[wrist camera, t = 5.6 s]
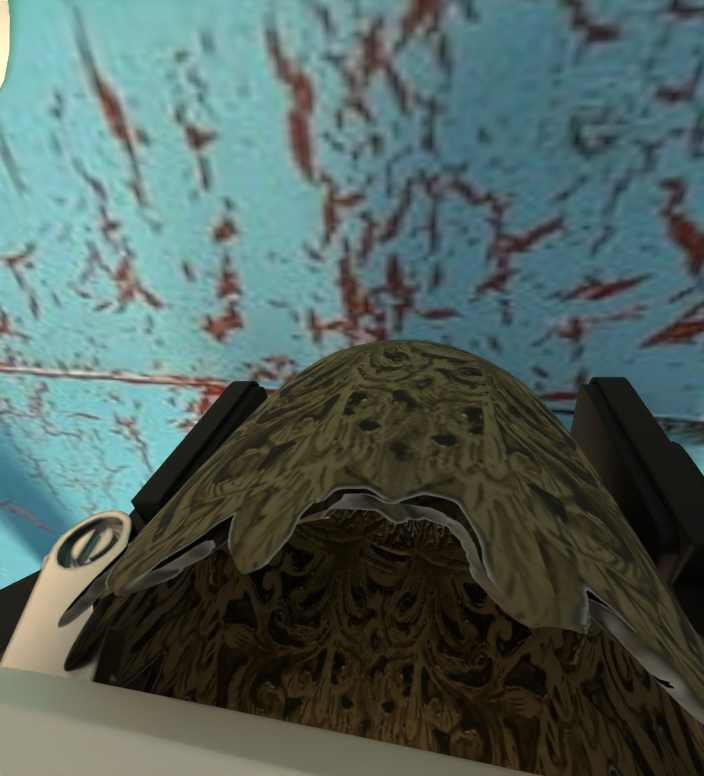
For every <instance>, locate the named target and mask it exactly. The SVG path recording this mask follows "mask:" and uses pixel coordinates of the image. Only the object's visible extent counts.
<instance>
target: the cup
mask: <svg viewBox="0 0 704 776" xmlns="http://www.w3.org/2000/svg"><path fill="white" fill-rule="evenodd" d="M92 605H93V612H92V614H91V615H90V617H89V618H88V620H87V621H86V623H85V624H84V626H83V628H82V629H81V631H80V633H79V634H78V636H77V638H76V640H75V641H74V643H73V645H72V647H71V649H70V651H69V653H68V655H67V658H66V660H65V663H64V670H66V669H68V668H70V667H71V666H72V665H73V664H74V663H76V662H77V661H78V660H79V658H80V657H81V656H82V655H83V654H84V653H85V652H86V651H87V650H88V649H89V647H90V646H91V645H92V644H93V643H94V642H95V640H96V639H97V638H98V637H99V636H100V635H101V633H102V632H103V631H104V630H105V628H107V630H116V629H120V630H127V633H126V637H125V642H124V647H123V652H122V657H121V661H120V666H119V671H118V676H117V681H116V682H113V683H112V684H113V685H114V686H116V687H120V688H123V687H124V686H125V685H127V684H128V683H130V682H131V681H133V680H134V679H135V678H136V677H138V676H139V675H140V674H141V673H142V672H143V671H144V670H145V669H146V668H147V667H148V666H150V665H151V664H152V666H151V670H150V672H149V675H148V677H147V680H146V682H145V684H144V686H143V688H142V690H141V692H145V693H150V694H155V695H160V696H165V697H166V696H167V695H168V693H169V691H170V690H171V688H172V687H174V690H175V693H176V697H177V699H179V700H184V701H189V702H194V703H199V704H204V705H209V706H214V707H219V708H224V709H228V710H233V711H238V712H243V713H248V714H252V715H257V716H262V717H267V718H272V719H276V720H281V721H286V722H291V723H296V724H300V725H305V726H310V727H315V728H320V729H324V730H329V731H334V732H339V733H343V734H348V735H353V736H358V737H362V738H367V739H372V740H377V741H381V742H386V743H391V744H396V745H401V746H405V747H410V748H415V749H420V750H424V751H429V752H434V753H439V754H443V755H448V756H453V757H457V758H462V759H467V760H471V761H476V762H480V763H485V764H490V765H494V766H499V767H504V768H508V769H513V770H518V771H522V772H527V773H532V774H536V775H541V776H704V645H703V643H702V641H701V640H700V638H699V636H698V635H697V633H696V632H695V630H694V628H693V627H692V625H691V623H690V622H689V620H688V618H687V617H686V615H685V613H684V612H683V610H682V609H681V607H680V605H679V604H678V602H677V600H676V599H675V597H674V595H673V594H672V592H671V591H670V589H669V587H668V586H667V584H666V582H665V581H664V579H663V578H662V576H661V574H660V573H659V571H658V569H657V568H656V566H655V565H654V563H653V561H652V560H651V558H650V556H649V555H648V553H647V552H646V550H645V548H644V547H643V545H642V544H641V542H640V540H639V539H638V537H637V535H636V534H635V532H634V531H633V529H632V527H631V526H630V524H629V523H628V521H627V519H626V518H625V516H624V515H623V513H622V512H621V510H620V508H619V507H618V505H617V504H616V502H615V500H614V499H613V497H612V496H611V494H610V493H609V491H608V489H607V488H606V486H605V485H604V483H603V482H602V480H601V478H600V477H599V475H598V474H597V472H596V471H595V469H594V468H593V466H592V464H591V463H590V461H589V460H588V459H587V457H586V456H585V454H584V453H583V451H582V450H581V448H580V447H579V446H578V444H577V443H576V441H575V440H574V439H573V437H572V436H571V435H570V434H569V432H568V431H567V430H566V428H565V427H564V426H563V425H562V423H561V422H560V421H559V420H558V419H557V417H556V416H555V415H554V414H553V412H552V411H551V410H550V409H549V407H548V406H547V405H545V404H544V403H543V402H542V401H541V400H540V399H539V398H538V397H537V396H536V395H535V394H534V393H533V392H532V391H531V390H530V389H529V388H528V387H527V386H526V385H524V384H523V383H522V382H521V381H520V380H518V379H517V378H515V377H514V376H513V375H511V374H510V373H509V372H507V371H506V370H504V369H502V368H500V367H499V366H497V365H495V364H493V363H491V362H490V361H488V360H486V359H484V358H481V357H479V356H477V355H475V354H472V353H470V352H468V351H465V350H462V349H459V348H456V347H452V346H449V345H445V344H440V343H435V342H429V341H420V340H386V341H377V342H372V343H367V344H362V345H358V346H354V347H351V348H348V349H345V350H342V351H339V352H336V353H334V354H331V355H329V356H327V357H325V358H323V359H321V360H319V361H317V362H316V363H314V364H312V365H311V366H309V367H308V368H306V369H305V370H303V371H301V372H300V373H298V374H297V375H295V376H294V377H293V378H291V379H290V380H289V381H288V382H287V383H285V384H284V385H283V386H282V387H280V388H279V389H278V390H277V391H276V392H275V393H273V394H272V395H271V396H270V397H269V398H267V399H266V400H265V401H264V402H263V403H262V404H261V405H260V406H259V407H258V408H257V409H256V410H255V411H254V412H253V413H252V414H251V415H250V416H249V417H248V418H247V419H246V420H245V421H244V422H243V423H242V424H241V425H240V426H239V427H238V428H237V429H236V430H235V432H234V433H233V434H232V435H231V436H230V437H229V438H228V439H227V440H226V441H225V442H224V443H223V444H222V445H221V446H220V447H219V448H218V449H217V450H216V451H215V453H214V454H213V455H212V456H211V457H210V458H209V459H208V460H207V461H206V462H205V463H204V464H203V465H202V466H201V467H200V468H199V470H198V471H197V472H196V473H195V474H194V475H193V476H192V477H191V478H190V479H189V480H188V481H187V482H186V483H185V485H184V486H183V487H182V488H181V489H180V490H179V491H178V492H177V493H176V494H175V495H174V496H173V497H172V498H171V500H170V501H169V502H168V503H167V504H166V505H165V506H164V507H163V508H162V509H161V510H160V511H159V512H158V514H157V515H156V516H155V517H154V518H153V519H152V520H151V521H150V522H149V523H148V524H147V525H146V526H145V527H144V529H143V530H142V531H141V532H140V533H139V534H138V535H137V536H136V537H135V538H134V539H133V540H132V541H131V542H130V543H129V544H128V545H127V546H126V547H125V548H124V549H123V550H122V551H121V552H120V553H119V554H118V555H117V556H116V557H115V558H114V559H113V560H112V561H111V562H110V563H109V564H108V565H107V566H106V567H105V568H104V569H103V570H102V571H101V572H100V573H99V574H98V575H97V576H96V577H95V578H94V579H93V580H92V581H91V582H90V583H89V584H88V586H87V587H86V588H85V589H84V590H83V591H82V592H81V593H80V594H79V595H78V596H77V597H76V599H75V600H74V601H73V602H72V603H71V605H70V606H69V607H68V608H67V610H66V611H65V612H64V613H63V615H62V616H61V618H60V620H59V622H58V628H61V627H64V626H66V625H68V624H69V623H71V622H73V621H74V620H75V619H77V618H78V617H79V616H80V615H82V614H83V613H84V612H85V611H86V610H87V609H88V608H89V607H90V606H92Z"/></svg>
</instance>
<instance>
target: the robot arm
mask: <svg viewBox="0 0 704 776" xmlns="http://www.w3.org/2000/svg"><path fill="white" fill-rule="evenodd" d="M9 46H10V13H9V5H8V0H0V87H1V85H2V83H3V81H4V77H5V72H6V67H7V62H8V56H9ZM267 398H268V396H267V393H266V390H265V389H264V387H260V386H259V384H258V383H257V382H255V381H235V382H232V383H231V384H230V385H229V386H228V387H227V388H226V390H225V391H224V392H223V393H222V394H221V396H220V397H219V398H218V399H217V400H216V401H215V403H214V404H213V405H212V406H211V407H210V409H209V410H208V411H207V412H206V413H205V414H204V416H203V417H202V418H201V419H200V420H199V422H198V423H197V424H196V425H195V426H194V427H193V429H192V430H191V431H190V432H189V433H188V434H187V436H186V437H185V438H184V439H183V440H182V442H181V443H180V444H179V445H178V446H177V447H176V449H175V450H174V451H173V452H172V453H171V455H170V456H169V457H168V458H167V459H166V460H165V462H164V463H163V464H162V465H161V466H160V468H159V469H158V470H157V471H156V472H155V473H154V475H153V476H152V477H151V478H150V479H149V480H148V482H147V483H146V484H145V485H144V486H143V488H142V489H141V490H140V491H139V492H138V493H137V495H136V496H135V497H134V498H133V499H132V501H131V502H132V504H133V506H134V507H135V509H134V510H133V511H132V512H131V514H130V515H128V514H126V513H124V512H122V511H115V510H111V511H105V512H100V513H98V514H95V515H92V516H90V517H88V518H86V519H84V520H82V521H81V522H79V523H77V524H76V525H74V526H73V527H72V528H71V529H69V530H68V531H67V532H65V533H64V534H63V535H62V537H61V538H60V539H59V540H58V541H57V542H56V543H55V545H54V546H53V548H52V549H51V551H50V553H49V555H48V557H47V559H46V562H45V564H44V566H43V568H42V569H41V570H39V571H37V572H35V573H33V574H31V575H29V576H27V577H25V578H23V579H21V580H19V581H17V582H15V583H13V584H11V585H9V586H7V587H5V588H3V589H1V590H0V776H541V775H536V774H532V773H527V772H522V771H518V770H513V769H508V768H504V767H499V766H494V765H490V764H485V763H480V762H476V761H471V760H467V759H462V758H457V757H453V756H448V755H443V754H439V753H434V752H429V751H424V750H420V749H415V748H410V747H405V746H401V745H396V744H391V743H386V742H381V741H377V740H372V739H367V738H362V737H358V736H353V735H348V734H343V733H339V732H334V731H329V730H324V729H320V728H315V727H310V726H305V725H300V724H296V723H291V722H286V721H281V720H276V719H272V718H267V717H262V716H257V715H252V714H248V713H243V712H238V711H233V710H228V709H224V708H219V707H214V706H209V705H204V704H199V703H194V702H189V701H184V700H179V699H177V697H176V693H175V690H174V687H172V688H171V690H170V691H169V693H168V695H167V696H166V697H165V696H160V695H155V694H150V693H145V692H141V690H142V688H143V686H144V684H145V682H146V680H147V677H148V675H149V672H150V670H151V666H152V664H151V665H150V666H148V667H147V668H146V669H145V670H144V671H143V672H142V673H141V674H140V675H139V676H138V677H136V678H135V679H134V680H133V681H131V682H130V683H128V684H127V685H125V686H124V687H123V688H120V687H116V686H114V685H113V684H112V683H113V682H116V681H117V676H118V671H119V666H120V661H121V657H122V652H123V647H124V642H125V637H126V633H127V630H120V629H116V630H107V628H105V630H104V631H103V632H102V633H101V635H100V636H99V637H98V638H97V639H96V640H95V642H94V643H93V644H92V645H91V646H90V647H89V649H88V650H87V651H86V652H85V653H84V654H83V655H82V656H81V657H80V658H79V660H78V661H77V662H76V663H74V664H73V665H72V666H71V667H70V668H68V669H66V670H64V663H65V660H66V658H67V655H68V653H69V651H70V649H71V647H72V645H73V643H74V641H75V640H76V638H77V636H78V634H79V633H80V631H81V629H82V628H83V626H84V624H85V623H86V621H87V620H88V618H89V617H90V615H91V614H92V612H93V605H92V606H90V607H89V608H88V609H87V610H86V611H85V612H84V613H83V614H82V615H80V616H79V617H78V618H77V619H75V620H74V621H73V622H71V623H69V624H68V625H66V626H64V627H61V628H58V622H59V620H60V618H61V616H62V615H63V613H64V612H65V611H66V610H67V608H68V607H69V606H70V605H71V603H72V602H73V601H74V600H75V599H76V597H77V596H78V595H79V594H80V593H81V592H82V591H83V590H84V589H85V588H86V587H87V586H88V584H89V583H90V582H91V581H92V580H93V579H94V578H95V577H96V576H97V575H98V574H99V573H100V572H101V571H102V570H103V569H104V568H105V567H106V566H107V565H108V564H109V563H110V562H111V561H112V560H113V559H114V558H115V557H116V556H117V555H118V554H119V553H120V552H121V551H122V550H123V549H124V548H125V547H126V546H127V545H128V544H129V543H130V542H131V541H132V540H133V539H134V538H135V537H136V536H137V535H138V534H139V533H140V532H141V531H142V530H143V529H144V527H145V526H146V525H147V524H148V523H149V522H150V521H151V520H152V519H153V518H154V517H155V516H156V515H157V514H158V512H159V511H160V510H161V509H162V508H163V507H164V506H165V505H166V504H167V503H168V502H169V501H170V500H171V498H172V497H173V496H174V495H175V494H176V493H177V492H178V491H179V490H180V489H181V488H182V487H183V486H184V485H185V483H186V482H187V481H188V480H189V479H190V478H191V477H192V476H193V475H194V474H195V473H196V472H197V471H198V470H199V468H200V467H201V466H202V465H203V464H204V463H205V462H206V461H207V460H208V459H209V458H210V457H211V456H212V455H213V454H214V453H215V451H216V450H217V449H218V448H219V447H220V446H221V445H222V444H223V443H224V442H225V441H226V440H227V439H228V438H229V437H230V436H231V435H232V434H233V433H234V432H235V430H236V429H237V428H238V427H239V426H240V425H241V424H242V423H243V422H244V421H245V420H246V419H247V418H248V417H249V416H250V415H251V414H252V413H253V412H254V411H255V410H256V409H257V408H258V407H259V406H260V405H261V404H262V403H263V402H264V401H265V400H266V399H267ZM570 435H571V436H572V437H573V439H574V440H575V441H576V443H577V444H578V446H579V447H580V448H581V450H582V451H583V453H584V454H585V456H586V457H587V459H588V460H589V461H590V463H591V464H592V466H593V468H594V469H595V471H596V472H597V474H598V475H599V477H600V478H601V480H602V482H603V483H604V485H605V486H606V488H607V489H608V491H609V493H610V494H611V496H612V497H613V499H614V500H615V502H616V504H617V505H618V507H619V508H620V510H621V512H622V513H623V515H624V516H625V518H626V519H627V521H628V523H629V524H630V526H631V527H632V529H633V531H634V532H635V534H636V535H637V537H638V539H639V540H640V542H641V544H642V545H643V547H644V548H645V550H646V552H647V553H648V555H649V556H650V558H651V560H652V561H653V563H654V565H655V566H656V568H657V569H658V571H659V573H660V574H661V576H662V578H663V579H664V581H665V582H666V584H667V586H668V587H669V589H670V591H671V592H672V594H673V595H674V597H675V599H676V600H677V602H678V604H679V605H680V607H681V609H682V610H683V612H684V613H685V615H686V617H687V618H688V620H689V622H690V623H691V625H692V627H693V628H694V630H695V632H696V633H697V635H698V636H699V638H700V640H701V641H702V643H703V645H704V476H703V474H702V473H701V471H700V470H699V469H698V467H697V466H696V465H695V463H694V462H693V460H692V459H691V458H690V456H689V455H688V453H687V452H686V451H685V449H684V448H683V447H682V446H681V445H680V444H678V443H676V442H673V441H670V440H669V438H668V437H667V435H666V434H665V433H664V431H663V430H662V428H661V427H660V425H659V424H658V423H657V421H656V420H655V418H654V417H653V415H652V414H651V413H650V411H649V410H648V408H647V407H646V406H645V404H644V403H643V401H642V400H641V398H640V397H639V396H638V394H637V393H636V391H635V390H634V388H633V387H632V386H631V384H630V383H629V381H628V380H627V379H626V378H625V377H593V378H592V379H591V380H590V382H589V384H582V385H581V386H580V388H579V391H578V397H577V402H576V407H575V412H574V417H573V423H572V428H571V433H570Z"/></svg>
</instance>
